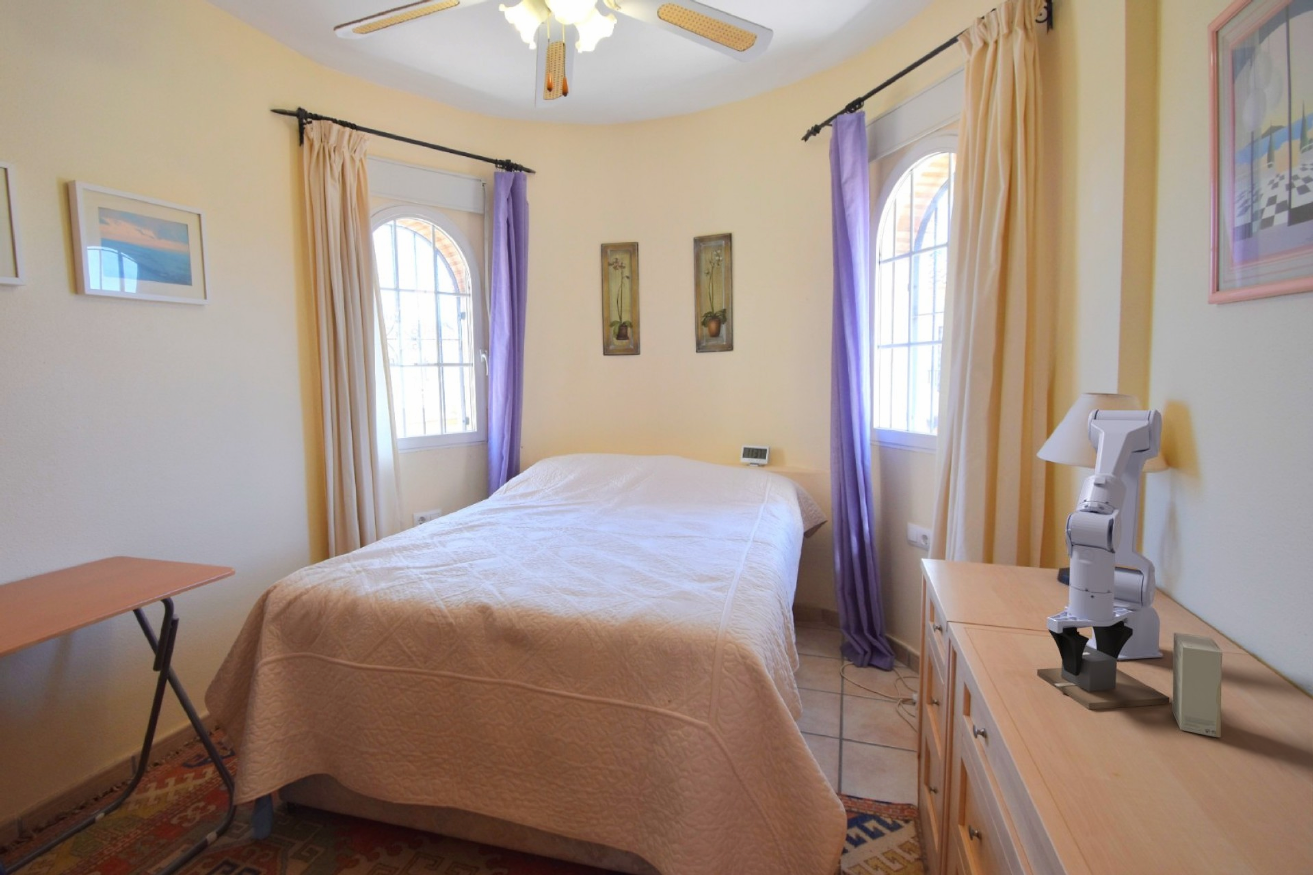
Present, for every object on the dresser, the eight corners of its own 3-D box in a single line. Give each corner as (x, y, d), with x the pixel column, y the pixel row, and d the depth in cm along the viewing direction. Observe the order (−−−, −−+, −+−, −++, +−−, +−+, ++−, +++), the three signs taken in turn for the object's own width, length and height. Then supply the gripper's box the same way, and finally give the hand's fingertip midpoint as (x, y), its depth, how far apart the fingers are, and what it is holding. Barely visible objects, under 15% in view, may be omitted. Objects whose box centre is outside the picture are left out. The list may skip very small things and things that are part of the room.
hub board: (1109, 670, 102) (1110, 650, 101) (1169, 703, 91) (1170, 681, 90) (1032, 675, 101) (1032, 655, 100) (1083, 709, 90) (1084, 687, 89)
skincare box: (1221, 739, 82) (1225, 653, 81) (1178, 730, 84) (1182, 646, 83) (1209, 717, 87) (1213, 636, 86) (1169, 709, 89) (1173, 630, 88)
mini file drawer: (1086, 673, 99) (1087, 645, 98) (1115, 688, 94) (1117, 658, 93) (1061, 676, 98) (1062, 647, 97) (1089, 691, 93) (1090, 661, 92)
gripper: (1104, 575, 100) (1102, 653, 101) (1031, 583, 97) (1029, 664, 98) (1147, 588, 93) (1144, 673, 94) (1070, 598, 90) (1067, 684, 91)
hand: (1088, 670), depth 95 cm, fingers open, 6 cm apart
